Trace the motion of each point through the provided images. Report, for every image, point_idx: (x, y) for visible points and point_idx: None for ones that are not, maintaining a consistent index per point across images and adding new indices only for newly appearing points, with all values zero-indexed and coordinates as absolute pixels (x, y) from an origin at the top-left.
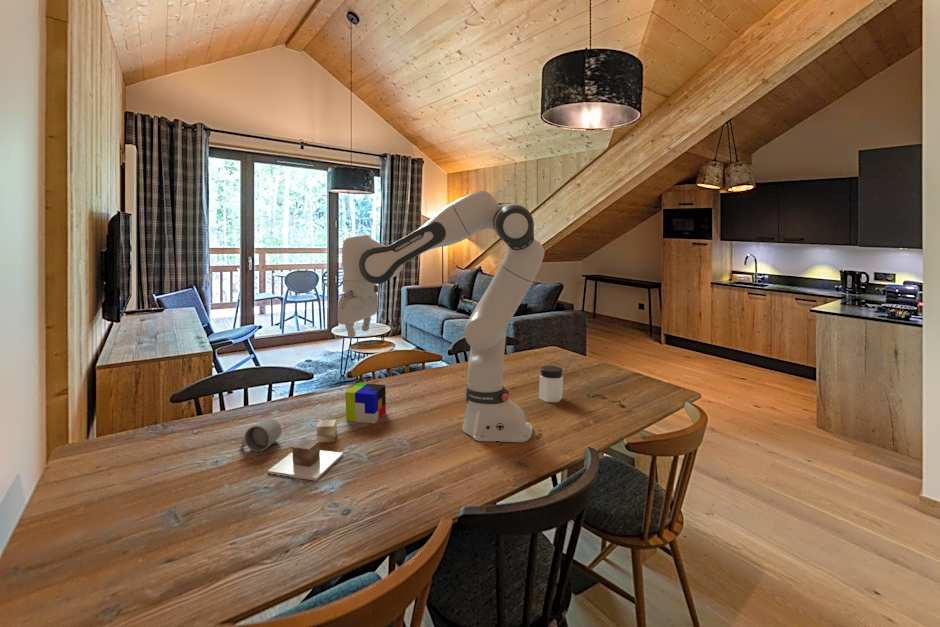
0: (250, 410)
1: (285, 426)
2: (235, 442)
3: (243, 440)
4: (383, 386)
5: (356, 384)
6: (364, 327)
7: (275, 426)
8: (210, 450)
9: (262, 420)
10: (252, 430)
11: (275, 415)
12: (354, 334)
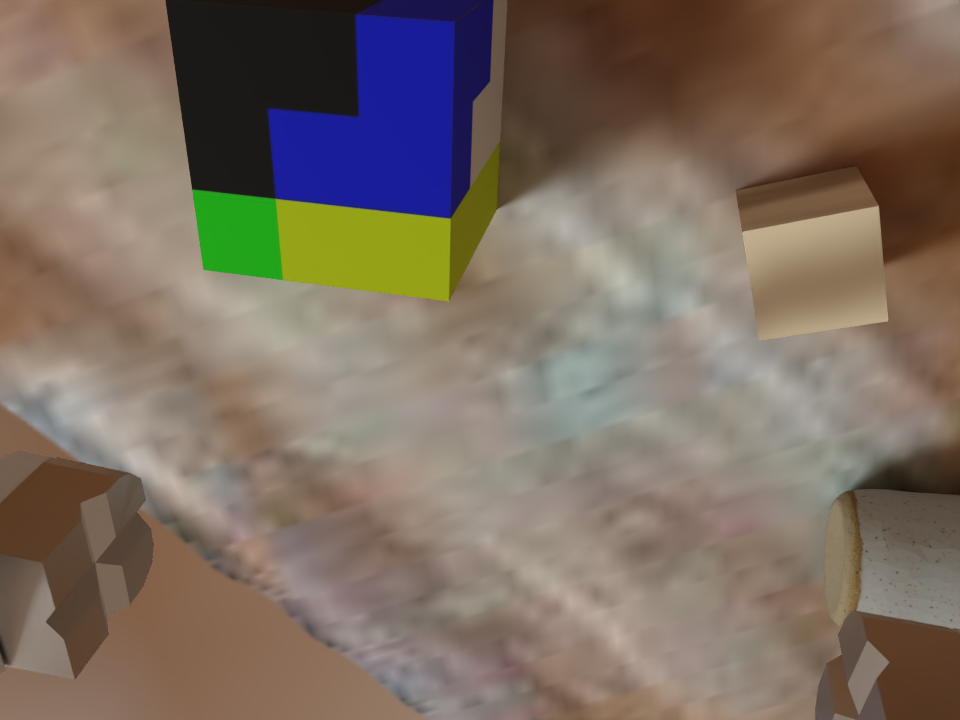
0: (467, 700)
1: (639, 507)
2: None
3: None
4: (209, 4)
5: (247, 271)
6: (86, 585)
7: (921, 548)
8: None
9: None
10: None
11: (503, 592)
12: (948, 668)
